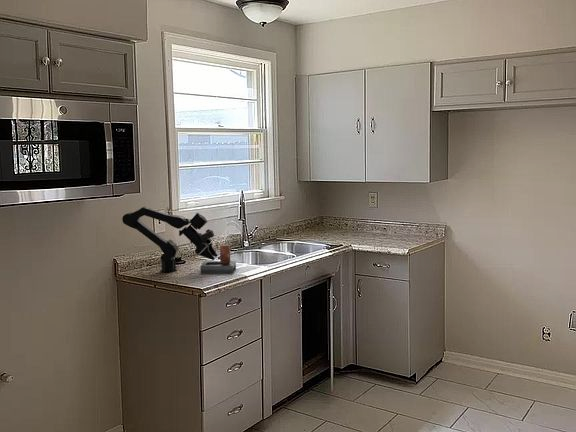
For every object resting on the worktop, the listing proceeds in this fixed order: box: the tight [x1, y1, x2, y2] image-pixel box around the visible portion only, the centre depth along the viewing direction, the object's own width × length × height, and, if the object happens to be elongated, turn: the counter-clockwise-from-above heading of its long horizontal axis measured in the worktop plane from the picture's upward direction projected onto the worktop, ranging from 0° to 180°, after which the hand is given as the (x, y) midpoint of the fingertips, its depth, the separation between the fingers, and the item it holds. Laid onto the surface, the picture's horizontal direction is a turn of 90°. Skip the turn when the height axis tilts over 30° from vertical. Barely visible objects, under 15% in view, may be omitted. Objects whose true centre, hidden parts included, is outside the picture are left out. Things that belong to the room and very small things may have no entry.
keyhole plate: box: [199, 260, 237, 275], centre depth 305 cm, size 16×13×4 cm
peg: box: [219, 244, 231, 264], centre depth 305 cm, size 5×5×13 cm
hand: (215, 257), depth 305 cm, fingers open, 9 cm apart
